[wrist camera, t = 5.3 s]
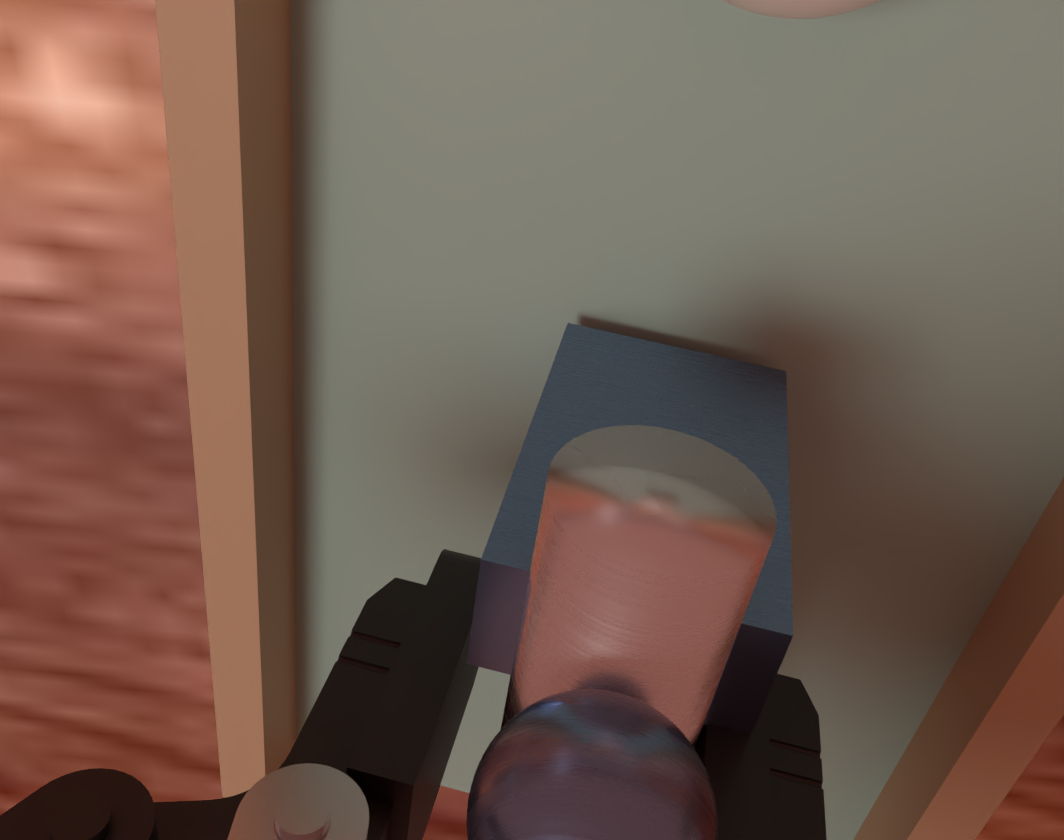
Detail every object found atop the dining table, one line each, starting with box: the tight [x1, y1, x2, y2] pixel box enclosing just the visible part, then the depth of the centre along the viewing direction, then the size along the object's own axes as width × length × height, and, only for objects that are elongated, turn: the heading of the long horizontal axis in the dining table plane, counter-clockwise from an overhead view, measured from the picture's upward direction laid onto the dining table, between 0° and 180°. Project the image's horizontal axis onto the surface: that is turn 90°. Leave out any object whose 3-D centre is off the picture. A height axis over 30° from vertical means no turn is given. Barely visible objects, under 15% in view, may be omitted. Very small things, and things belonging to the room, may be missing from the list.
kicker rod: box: [466, 323, 793, 840], centre depth 14 cm, size 3×14×8 cm, turn 172°
